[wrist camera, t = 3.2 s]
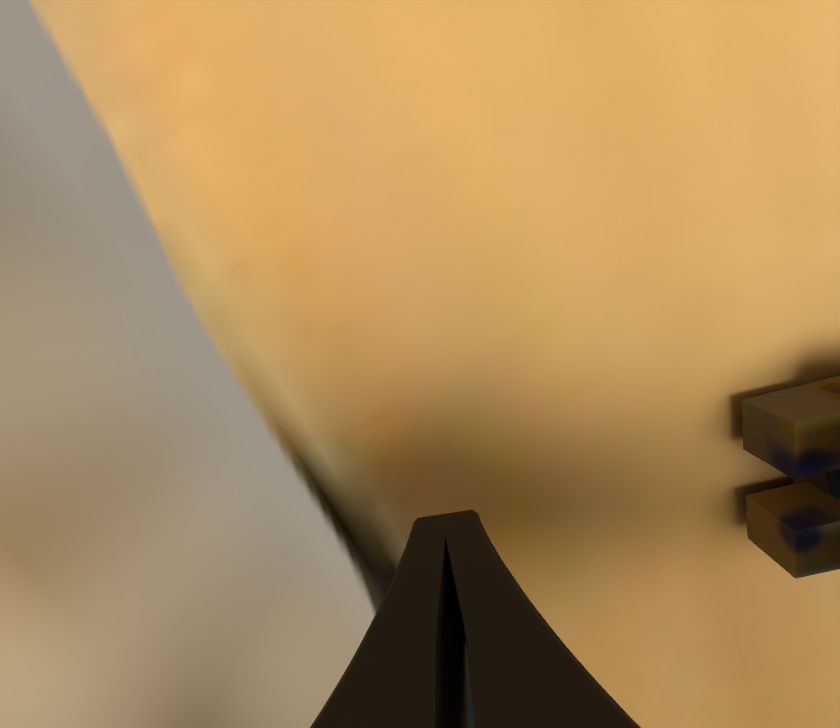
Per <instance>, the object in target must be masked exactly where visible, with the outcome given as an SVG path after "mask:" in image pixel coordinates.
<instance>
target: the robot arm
mask: <svg viewBox="0 0 840 728" xmlns="http://www.w3.org/2000/svg"><path fill="white" fill-rule="evenodd" d="M465 642H466V647H467V651H468V657H469V667H470V677H471V687H472V698H473V708H474V719H475V728H641V727H640V726H638V725H637V724H636V723H635V722H634V721H633V720H632V719H631V717H630V716H629V715H628V714H627V713H626V712H625V711H624V710H623V709H622V708H621V707H620V706H619V705H618V704H617V703H616V702H615V700H614V699H613V698H612V697H611V696H610V695H609V694H608V693H607V692H606V691H605V690H604V689H603V688H602V686H601V685H600V684H599V683H598V682H597V681H596V680H595V679H594V678H593V677H592V675H591V674H590V673H589V672H588V671H587V670H586V669H585V668H584V666H583V665H582V664H581V663H580V662H579V661H578V660H577V658H576V657H575V656H574V655H573V654H572V653H571V652H570V650H569V649H568V648H567V647H566V646H565V644H564V643H563V642H562V641H561V640H560V638H559V637H558V636H557V635H556V633H555V632H554V631H553V630H552V629H551V627H550V626H549V625H548V623H547V622H546V621H545V620H544V618H543V617H542V616H541V614H540V613H539V612H538V611H537V609H536V608H535V607H534V605H533V604H532V603H531V601H530V600H529V599H528V597H527V596H526V595H525V593H524V592H523V590H522V589H521V588H520V586H519V585H518V583H517V582H516V580H515V579H514V577H513V576H512V574H511V573H510V571H509V570H508V569H507V567H506V566H505V564H504V563H503V561H502V559H501V558H500V556H499V555H498V553H497V551H496V550H495V548H494V546H493V544H492V543H491V541H490V539H489V537H488V535H487V534H486V532H485V530H484V528H483V525H482V523H481V521H480V518H479V515H478V513H476V512H475V511H473V510H468V511H461V512H454V513H448V514H441V515H434V516H427V517H421V518H417V519H416V521H415V522H414V523H413V526H412V530H411V533H410V536H409V539H408V542H407V544H406V547H405V550H404V552H403V555H402V557H401V560H400V562H399V565H398V567H397V570H396V572H395V574H394V576H393V579H392V581H391V583H390V585H389V588H388V590H387V592H386V594H385V596H384V599H383V601H382V603H381V605H380V607H379V609H378V611H377V613H376V615H375V617H374V619H373V621H372V623H371V625H370V627H369V629H368V630H367V632H366V634H365V636H364V638H363V640H362V642H361V644H360V646H359V648H358V650H357V652H356V653H355V655H354V657H353V659H352V660H351V662H350V664H349V666H348V667H347V669H346V671H345V672H344V674H343V676H342V678H341V679H340V681H339V683H338V684H337V686H336V688H335V689H334V691H333V692H332V694H331V696H330V697H329V699H328V701H327V702H326V704H325V705H324V707H323V709H322V710H321V712H320V713H319V715H318V716H317V718H316V720H315V721H314V723H313V724H312V725H311V727H310V728H468V706H467V677H466V650H465Z"/></svg>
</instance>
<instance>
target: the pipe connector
mask: <svg viewBox="0 0 840 728" xmlns="http://www.w3.org/2000/svg"><path fill="white" fill-rule="evenodd" d="M741 405H742V426H743V448H744V450H746V451H748V452H749V453H751V454H753V455H755V456H756V457H758V458H760V459H761V460H763V461H765V462H766V463H768V464H770V465H771V466H773V467H775V468H776V469H778V470H780V471H782V472H783V473H785V474H787V475H788V476H790V477H792V478H793V484H791V485H787V486H782V487H778V488H774V489H769V490H765V491H761V492H756V493H752V494H748V495H746V512H747V533H748V538H749V539H750V540H751V541H752V542H753V543H754V544H756V545H757V546H758V547H759V548H760V549H761V550H763V551H764V552H765V553H766V554H767V555H768V556H770V557H771V558H772V559H773V560H774V561H776V562H777V563H778V564H779V565H780V566H781V567H783V568H784V569H785V570H786V571H787V572H788V573H790V574H791V575H792V576H793V577H794V578H800V577H805V576H809V575H814V574H818V573H823V572H828V571H832V570H837V569H840V375H839V376H835V377H831V378H827V379H823V380H819V381H814V382H810V383H806V384H802V385H798V386H794V387H790V388H786V389H782V390H778V391H774V392H770V393H766V394H762V395H758V396H753V397H749V398H745V399H741Z"/></svg>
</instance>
